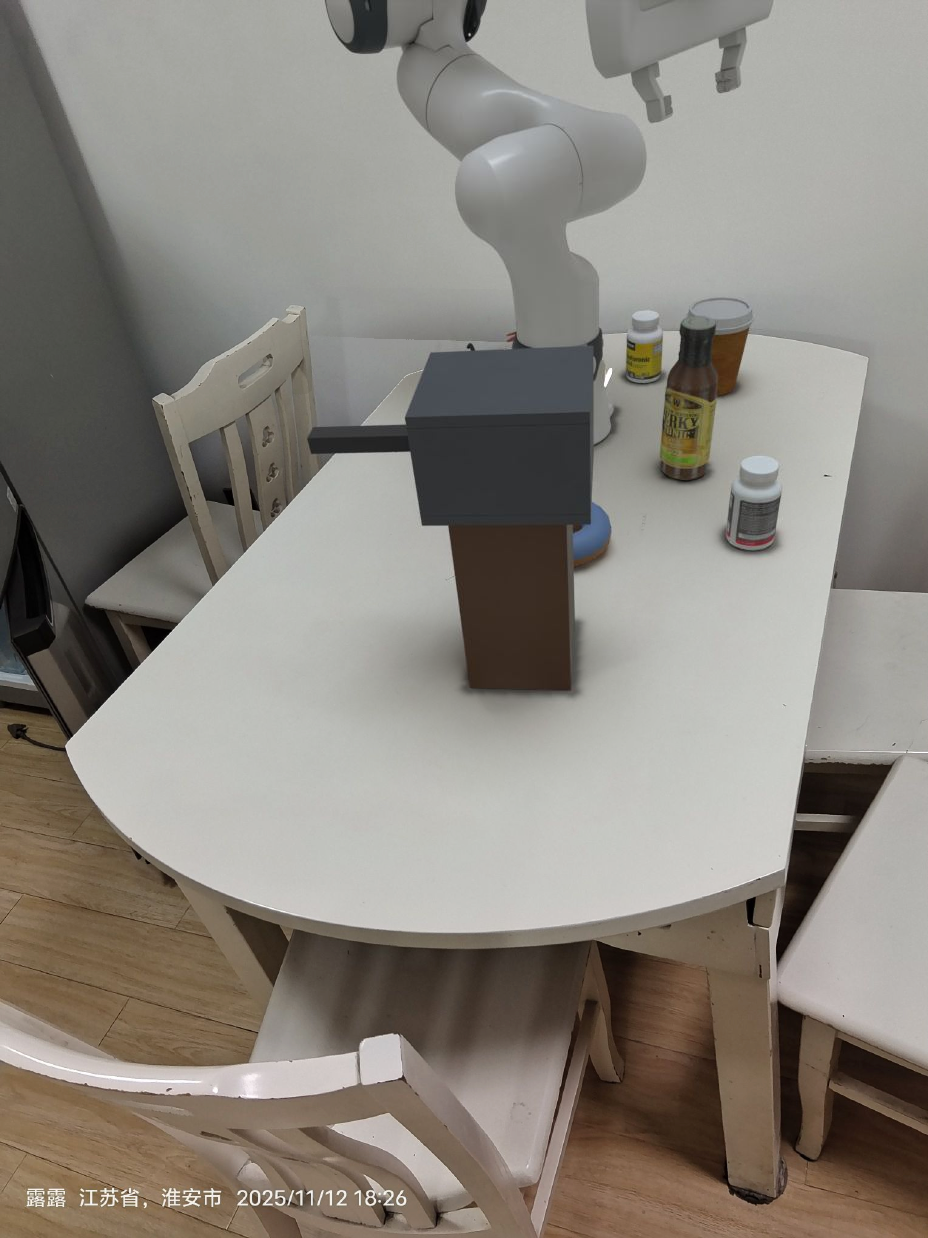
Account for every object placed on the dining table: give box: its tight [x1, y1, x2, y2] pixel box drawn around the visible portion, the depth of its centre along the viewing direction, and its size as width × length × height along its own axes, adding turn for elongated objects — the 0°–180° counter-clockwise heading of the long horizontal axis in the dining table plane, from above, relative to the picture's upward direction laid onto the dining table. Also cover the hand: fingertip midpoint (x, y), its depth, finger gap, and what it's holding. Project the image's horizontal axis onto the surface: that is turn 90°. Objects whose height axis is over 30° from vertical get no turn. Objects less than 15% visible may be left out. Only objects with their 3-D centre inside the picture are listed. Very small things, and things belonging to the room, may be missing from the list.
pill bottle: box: [725, 455, 783, 551], centre depth 96 cm, size 5×5×10 cm
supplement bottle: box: [625, 309, 664, 384], centre depth 131 cm, size 5×5×10 cm
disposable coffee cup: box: [684, 296, 755, 397], centre depth 125 cm, size 10×10×12 cm
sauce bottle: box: [659, 316, 718, 481], centre depth 105 cm, size 6×6×20 cm
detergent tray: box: [306, 423, 410, 455], centre depth 73 cm, size 23×10×7 cm, turn 82°
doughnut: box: [573, 501, 612, 566], centre depth 100 cm, size 10×10×5 cm
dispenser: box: [404, 346, 595, 691], centre depth 78 cm, size 14×12×30 cm
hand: (695, 104), depth 80 cm, fingers open, 8 cm apart
